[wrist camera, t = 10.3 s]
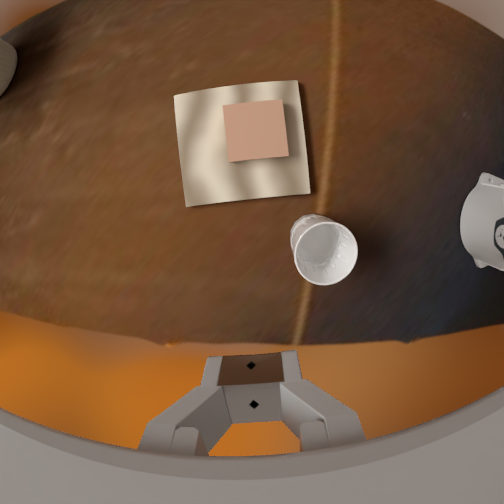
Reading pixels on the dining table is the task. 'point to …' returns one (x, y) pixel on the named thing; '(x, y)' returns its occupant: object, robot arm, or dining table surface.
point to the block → (255, 130)
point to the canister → (6, 64)
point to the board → (215, 146)
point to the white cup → (322, 249)
